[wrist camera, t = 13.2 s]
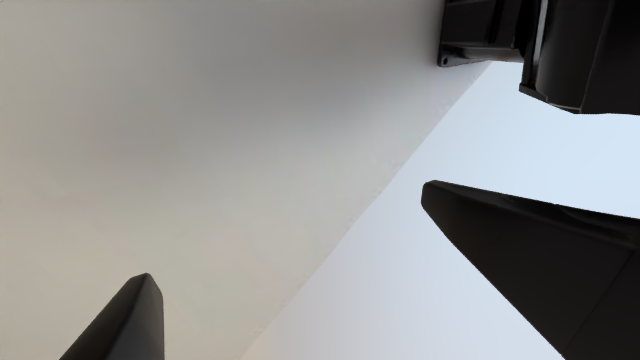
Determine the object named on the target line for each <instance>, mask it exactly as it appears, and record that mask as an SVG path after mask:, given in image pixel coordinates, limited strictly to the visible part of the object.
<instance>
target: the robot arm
mask: <svg viewBox="0 0 640 360" xmlns="http://www.w3.org/2000/svg"><path fill="white" fill-rule="evenodd" d="M487 60H491V61H505V62H519V63H524V65H523V72H522V81H521V83H520V85H519V91H520V92H522V93H524V94H527V95H529V96H532V97H534V98H536V99H538V100H541V101H543V102H545V103H548V104H550V105H552V106H555V107H557V108H560V109H562V110H565V111H568V112H570V113H573V114H606V113H611V114H613V113H614V114H631V115H640V0H445V7H444V15H443V22H442V30H441V38H440V46H439V53H438V61H437V64H438V66H439V67H451V66H457V65H463V64H469V63H475V62H481V61H487ZM443 61H444V63H443ZM421 204H422V207H423V209H424V210H425V211H426V212H427V213H428V215H429V216H430V217H431V218H432V220H433V221H434V222H435V224H436V225H437V226H438V227H439V228H440V230H441V231H442V232H443V233H444V235H445V236H446V237H447V238H448V239H449V240H450V241H451V243H453V245H454V246H455V247H456V248H457V249H458V250H459V251H460V252H461V253H462V254H463V255H464V256H465V257H466V258H467V259H468V260H469V261H470V262H471V263H472V264H473V265H474V266H475V267H476V268H477V269H478V270H479V271H480V272H481V273H482V274H483V275H484V276H485V278H486V279H487V280H488V281H489V282H490V283H491V284H492V285H493V286H494V287H495V288H496V289H497V290H498V291H499V292H500V293H501V294H502V295H503V296H504V297H505V298H506V299H507V300H508V301H509V302H510V303H511V304H512V305H513V306H514V307H515V308H516V309H517V310H518V311H519V312H520V313H521V314H522V315H523V317H524V318H525V319H526V320H527V321H528V322H529V323H530V324H531V325H532V326H533V327H534V328H535V329H536V330H537V331H538V332H539V333H540V334H541V335H542V336H543V337H544V338H545V339H546V340H547V341H548V342H549V343H550V344H551V345H552V346H553V347H554V348H555V349H556V350H557V351H558V352H559V353H560V354H561V356H562V357H563V358H564V359H565V360H640V219H637V218H631V217H624V216H618V215H613V214H607V213H601V212H595V211H590V210H584V209H579V208H574V207H569V206H563V205H559V204H553V203H548V202H543V201H538V200H533V199H528V198H523V197H518V196H513V195H508V194H502V193H498V192H493V191H488V190H483V189H478V188H473V187H468V186H463V185H458V184H453V183H448V182H443V181H438V180H432V181H429V182H426V183H425V184H424V185H423V189H422V197H421ZM59 360H164V312H163V296H162V293H161V291H160V289H159V288H158V286H157V284H156V283H155V281H154V279H153V278H152V276H151V275H150V274H149V273H144V274H141V275H138V276H135V277H132V278H130V279H129V280H128V281H127V282H126V283H125V284H124V286H123V287H122V288H121V289H120V290H119V291H118V292H117V294H116V295H115V296H114V297H113V298H112V299H111V301H110V302H109V303H108V304H107V305H106V306H105V307H104V309H103V310H102V311H101V312H100V313H99V314H98V315H97V317H96V318H95V319H94V320H93V321H92V322H91V324H90V325H89V326H88V327H87V328H86V329H85V330H84V332H83V333H82V334H81V335H80V336H79V337H78V338H77V340H76V341H75V342H74V343H73V344H72V345H71V347H70V348H69V349H68V350H67V351H66V352H65V353H64V355H63V356H62V357H61V358H60V359H59Z"/></svg>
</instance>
